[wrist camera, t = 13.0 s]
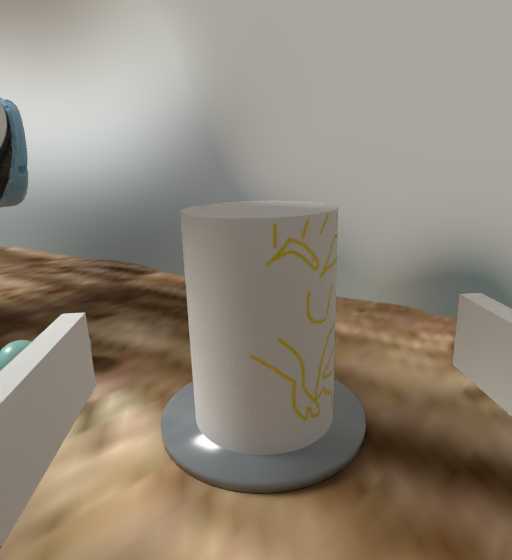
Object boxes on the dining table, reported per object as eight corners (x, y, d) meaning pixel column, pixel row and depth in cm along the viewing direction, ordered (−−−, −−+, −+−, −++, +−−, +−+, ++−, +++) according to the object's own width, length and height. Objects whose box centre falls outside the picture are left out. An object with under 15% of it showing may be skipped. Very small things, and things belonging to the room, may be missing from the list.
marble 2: (-1, 377, 32) (-9, 340, 31) (43, 365, 33) (37, 330, 32) (2, 394, 29) (-7, 354, 28) (49, 381, 31) (43, 343, 30)
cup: (292, 476, 20) (291, 222, 17) (166, 424, 24) (145, 213, 21) (353, 396, 27) (360, 202, 23) (245, 366, 31) (239, 199, 28)
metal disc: (133, 406, 27) (132, 398, 27) (282, 356, 34) (282, 349, 33) (226, 536, 18) (226, 524, 17) (410, 431, 24) (411, 422, 24)
